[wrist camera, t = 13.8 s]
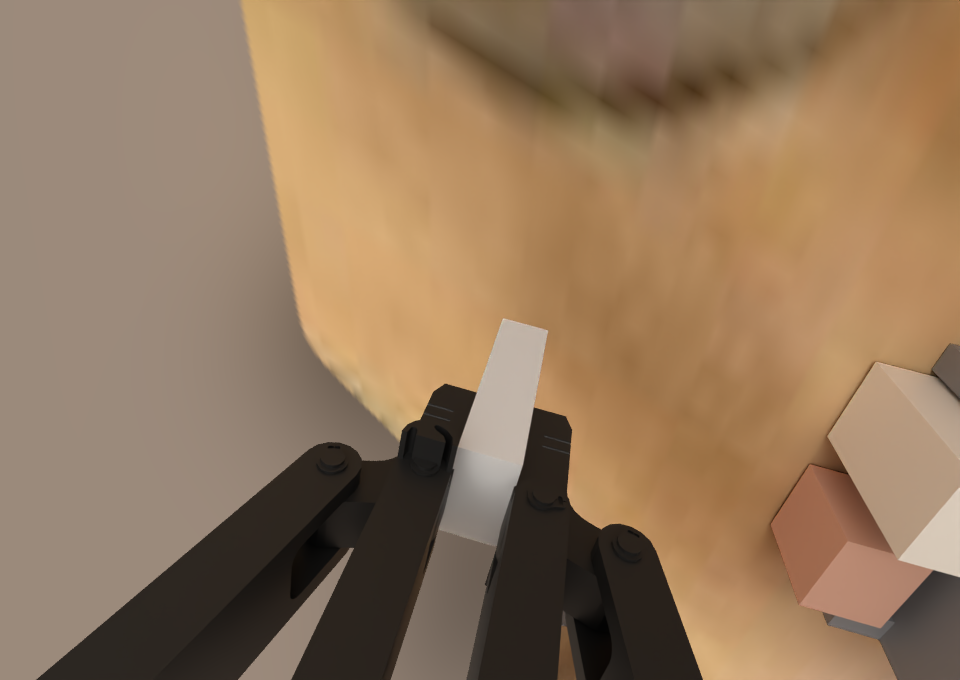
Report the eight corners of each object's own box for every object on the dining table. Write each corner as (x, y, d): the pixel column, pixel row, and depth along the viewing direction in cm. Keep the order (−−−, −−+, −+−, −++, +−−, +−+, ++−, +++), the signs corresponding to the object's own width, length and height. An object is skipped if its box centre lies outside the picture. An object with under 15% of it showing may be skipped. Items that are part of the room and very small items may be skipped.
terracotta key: (809, 464, 46) (847, 541, 39) (885, 484, 46) (937, 566, 39) (770, 524, 49) (798, 605, 42) (840, 543, 49) (880, 628, 42)
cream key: (876, 361, 41) (971, 473, 31) (961, 383, 41) (1086, 504, 30) (827, 436, 44) (897, 559, 34) (905, 457, 44) (1000, 588, 34)
